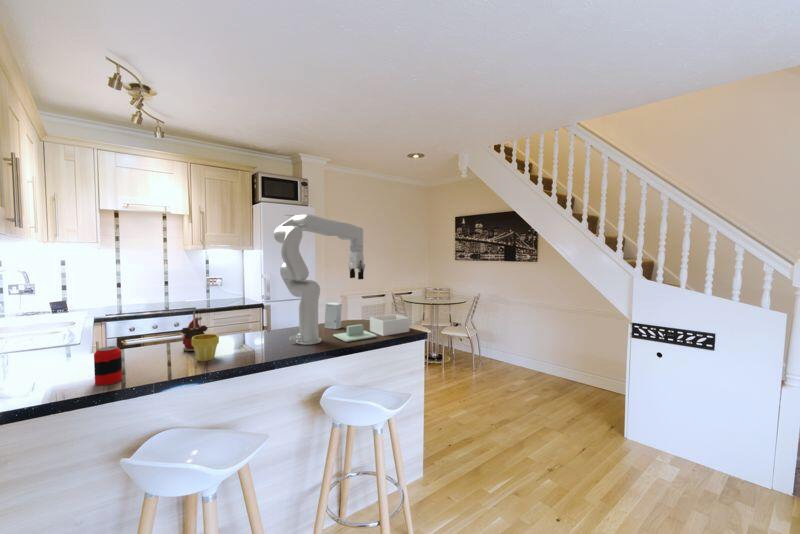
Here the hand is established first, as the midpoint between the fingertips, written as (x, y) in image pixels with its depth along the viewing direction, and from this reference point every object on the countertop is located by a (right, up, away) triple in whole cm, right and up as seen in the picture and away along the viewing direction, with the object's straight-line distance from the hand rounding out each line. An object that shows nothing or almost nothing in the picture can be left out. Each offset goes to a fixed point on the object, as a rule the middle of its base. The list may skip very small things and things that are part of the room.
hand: (356, 278), depth 208 cm
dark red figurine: (-71, -32, -38) cm, 87 cm away
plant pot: (-58, -33, -53) cm, 85 cm away
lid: (+1, -32, -13) cm, 34 cm away
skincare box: (-15, -30, +8) cm, 34 cm away
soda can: (-78, -34, -79) cm, 117 cm away
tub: (+19, -31, +1) cm, 36 cm away
